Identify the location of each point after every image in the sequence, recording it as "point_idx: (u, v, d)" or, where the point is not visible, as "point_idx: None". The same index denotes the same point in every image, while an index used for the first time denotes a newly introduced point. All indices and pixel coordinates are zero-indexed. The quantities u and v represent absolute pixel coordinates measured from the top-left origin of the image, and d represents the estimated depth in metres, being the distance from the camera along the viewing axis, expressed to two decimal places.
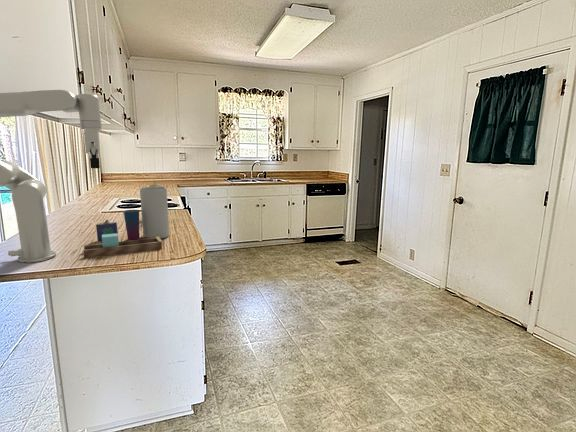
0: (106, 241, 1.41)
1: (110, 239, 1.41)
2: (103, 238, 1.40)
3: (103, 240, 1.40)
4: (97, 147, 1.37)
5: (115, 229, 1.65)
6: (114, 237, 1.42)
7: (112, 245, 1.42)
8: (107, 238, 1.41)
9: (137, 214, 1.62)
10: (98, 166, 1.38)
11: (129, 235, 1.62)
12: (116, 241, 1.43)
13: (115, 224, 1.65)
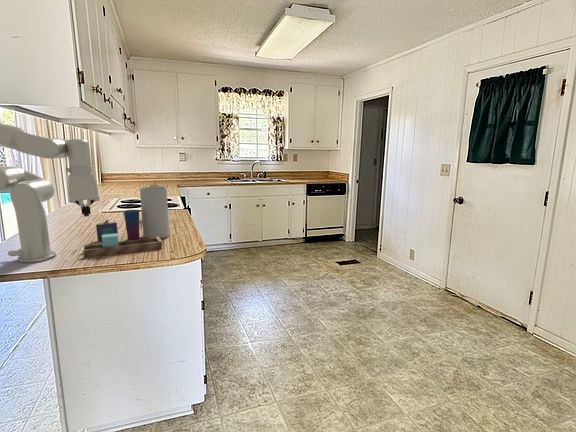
0: (106, 241, 1.41)
1: (110, 239, 1.41)
2: (103, 238, 1.40)
3: (103, 240, 1.40)
4: None
5: (115, 229, 1.65)
6: (114, 237, 1.42)
7: (112, 245, 1.42)
8: (107, 238, 1.41)
9: (137, 214, 1.62)
10: None
11: (129, 235, 1.62)
12: (116, 241, 1.43)
13: (115, 224, 1.65)
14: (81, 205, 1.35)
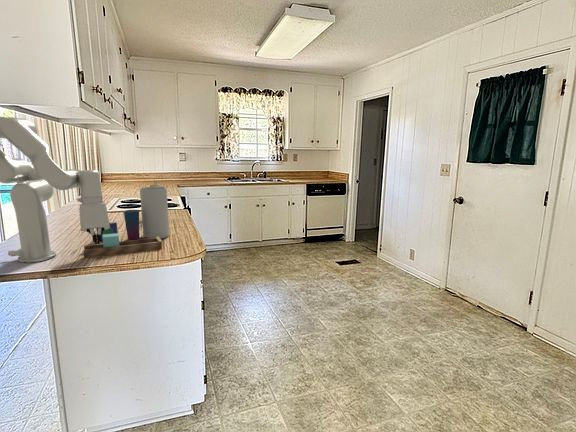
0: (107, 241, 1.41)
1: (111, 239, 1.41)
2: (104, 238, 1.40)
3: (104, 240, 1.40)
4: None
5: (115, 229, 1.65)
6: (115, 237, 1.42)
7: (113, 245, 1.42)
8: (108, 238, 1.41)
9: (137, 214, 1.62)
10: None
11: (129, 235, 1.62)
12: (117, 241, 1.43)
13: (115, 224, 1.65)
14: (92, 233, 1.39)
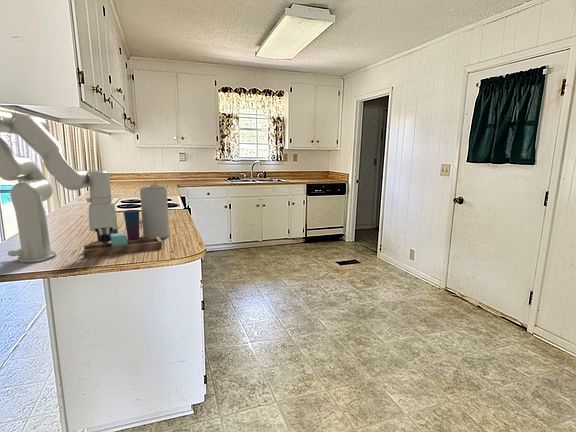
0: (115, 240, 1.42)
1: (119, 238, 1.43)
2: (112, 237, 1.42)
3: (112, 239, 1.42)
4: None
5: (115, 229, 1.65)
6: (123, 236, 1.43)
7: (121, 244, 1.44)
8: (116, 237, 1.42)
9: (137, 214, 1.62)
10: None
11: (129, 235, 1.62)
12: (125, 240, 1.44)
13: None
14: (100, 233, 1.40)
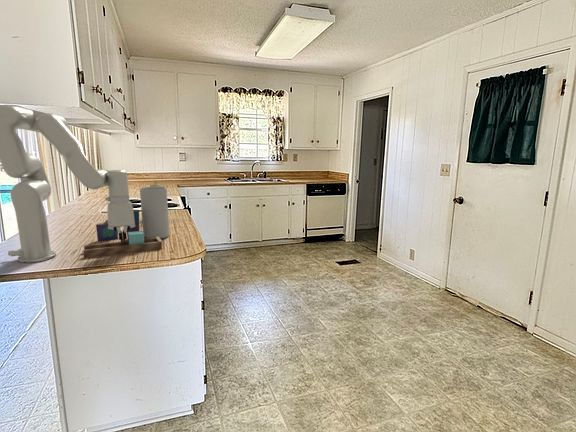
0: (132, 238, 1.45)
1: (136, 236, 1.46)
2: (130, 235, 1.45)
3: (130, 237, 1.45)
4: None
5: None
6: (140, 234, 1.47)
7: (138, 242, 1.47)
8: (133, 235, 1.45)
9: (137, 214, 1.62)
10: None
11: None
12: (142, 238, 1.47)
13: None
14: (118, 231, 1.43)
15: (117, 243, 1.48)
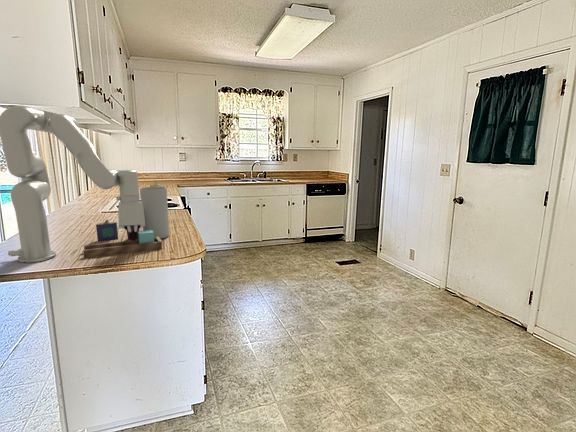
0: (143, 237, 1.47)
1: (146, 235, 1.48)
2: (140, 234, 1.47)
3: (140, 236, 1.47)
4: None
5: (115, 229, 1.65)
6: (150, 233, 1.49)
7: (148, 241, 1.49)
8: (144, 234, 1.47)
9: None
10: None
11: None
12: (152, 237, 1.49)
13: (115, 224, 1.65)
14: (129, 230, 1.45)
15: (117, 243, 1.48)
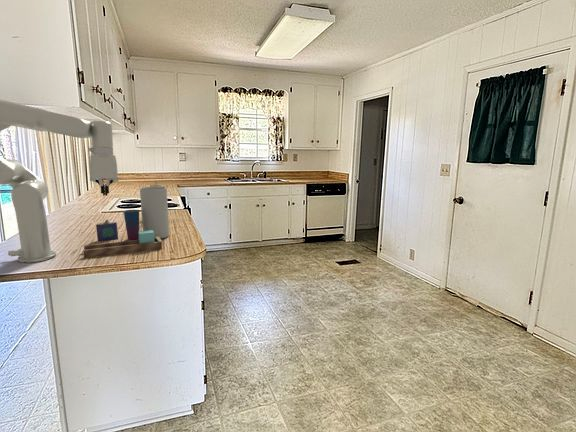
0: (143, 237, 1.47)
1: (147, 235, 1.48)
2: (140, 234, 1.47)
3: (140, 236, 1.47)
4: None
5: (115, 229, 1.65)
6: (150, 233, 1.49)
7: (148, 241, 1.49)
8: (144, 234, 1.47)
9: (137, 214, 1.62)
10: None
11: (129, 235, 1.62)
12: (152, 237, 1.49)
13: (115, 224, 1.65)
14: (101, 184, 1.41)
15: (117, 243, 1.48)
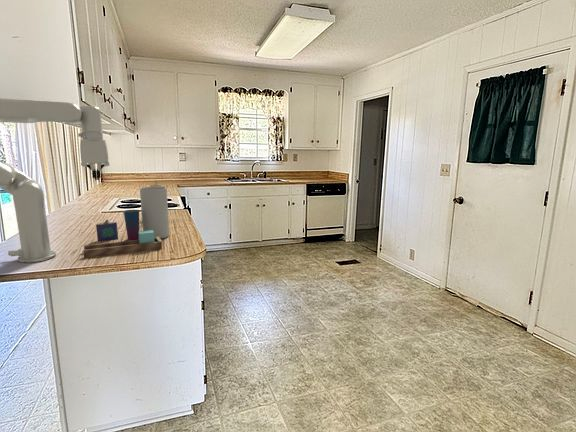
0: (143, 237, 1.47)
1: (147, 235, 1.48)
2: (140, 234, 1.47)
3: (140, 236, 1.47)
4: None
5: (115, 229, 1.65)
6: (150, 233, 1.49)
7: (148, 241, 1.49)
8: (144, 234, 1.47)
9: (137, 214, 1.62)
10: None
11: (129, 235, 1.62)
12: (152, 237, 1.49)
13: (115, 224, 1.65)
14: (92, 169, 1.44)
15: (117, 243, 1.48)
